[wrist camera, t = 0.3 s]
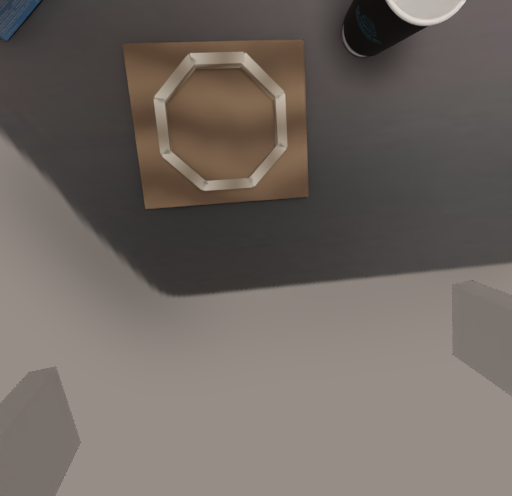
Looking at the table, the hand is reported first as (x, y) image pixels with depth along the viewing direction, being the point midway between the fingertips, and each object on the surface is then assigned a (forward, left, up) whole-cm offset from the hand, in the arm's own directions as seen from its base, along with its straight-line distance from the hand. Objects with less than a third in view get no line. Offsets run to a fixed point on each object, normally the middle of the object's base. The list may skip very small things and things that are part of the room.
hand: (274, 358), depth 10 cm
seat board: (-12, 0, -27) cm, 30 cm away
